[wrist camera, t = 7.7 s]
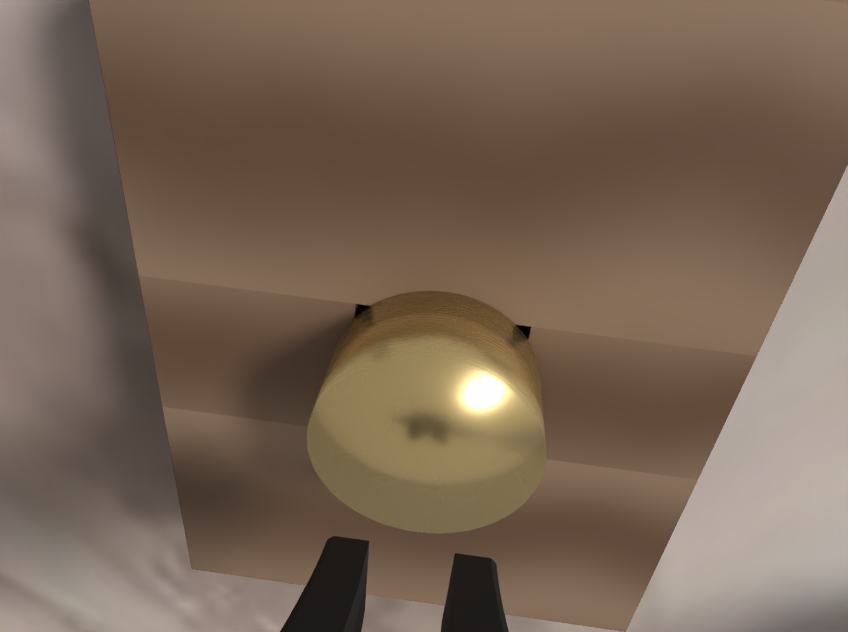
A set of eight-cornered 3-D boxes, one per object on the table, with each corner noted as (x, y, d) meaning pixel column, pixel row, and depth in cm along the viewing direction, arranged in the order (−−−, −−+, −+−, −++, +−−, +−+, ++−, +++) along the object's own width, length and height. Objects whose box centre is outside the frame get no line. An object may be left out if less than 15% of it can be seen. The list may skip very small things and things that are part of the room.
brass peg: (515, 378, 20) (520, 547, 15) (355, 354, 20) (306, 515, 15) (550, 233, 17) (572, 380, 12) (365, 207, 17) (306, 342, 12)
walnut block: (608, 528, 24) (625, 631, 20) (234, 475, 24) (191, 568, 21) (818, -18, 14) (920, 11, 10) (173, -90, 14) (73, -84, 11)
